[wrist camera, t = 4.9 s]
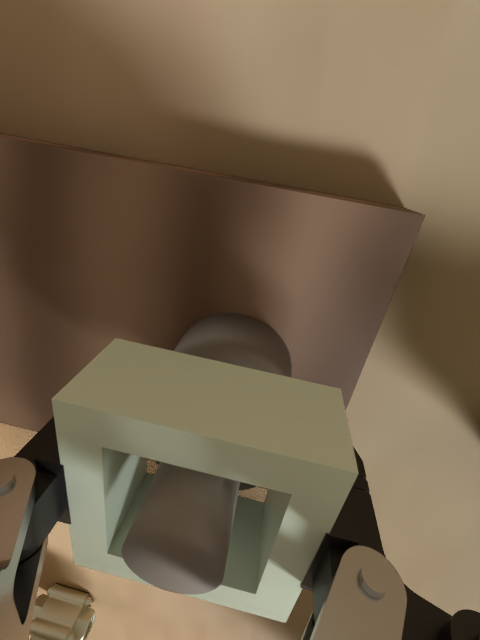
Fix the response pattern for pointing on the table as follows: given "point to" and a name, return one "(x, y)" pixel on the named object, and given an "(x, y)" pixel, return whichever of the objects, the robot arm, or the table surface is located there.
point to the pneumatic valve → (62, 615)
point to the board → (182, 303)
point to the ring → (205, 461)
